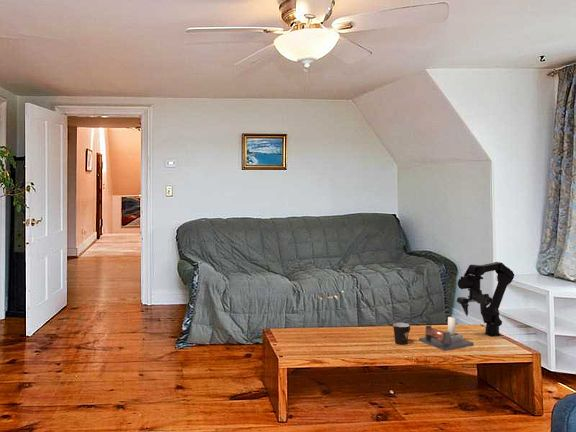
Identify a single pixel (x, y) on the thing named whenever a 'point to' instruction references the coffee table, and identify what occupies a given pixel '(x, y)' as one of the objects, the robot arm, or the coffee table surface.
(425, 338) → the winch base
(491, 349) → the coffee table surface
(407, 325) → the coffee mug
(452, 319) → the handle post
